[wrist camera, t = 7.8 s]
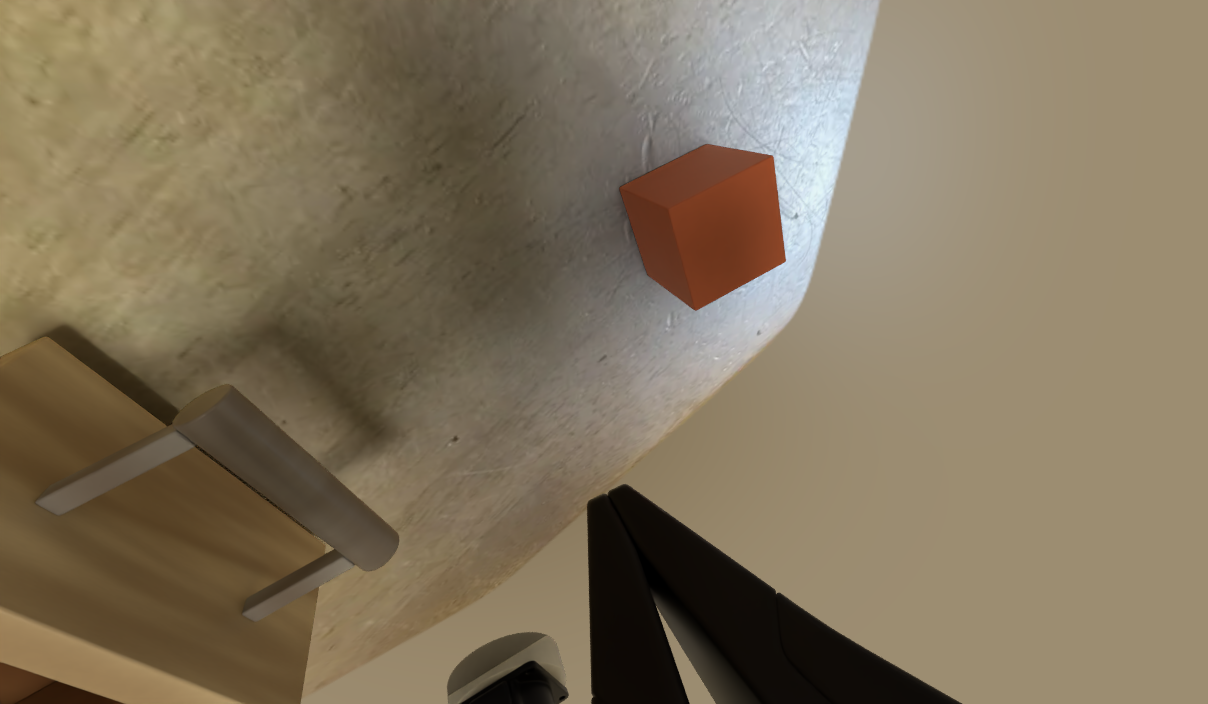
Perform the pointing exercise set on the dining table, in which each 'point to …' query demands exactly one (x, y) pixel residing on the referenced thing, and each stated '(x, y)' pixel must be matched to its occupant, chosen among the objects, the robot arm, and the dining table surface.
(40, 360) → the drawer
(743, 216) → the block
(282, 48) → the dining table surface
